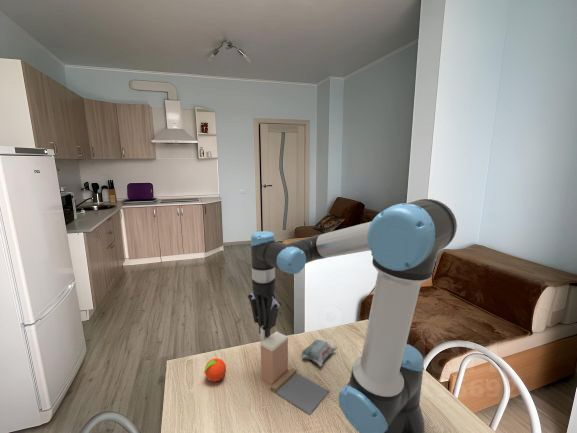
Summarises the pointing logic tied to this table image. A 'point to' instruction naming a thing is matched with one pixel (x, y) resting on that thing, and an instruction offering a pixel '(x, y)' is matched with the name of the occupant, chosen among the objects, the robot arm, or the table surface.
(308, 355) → the packaged food
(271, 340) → the terracotta block
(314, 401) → the mat
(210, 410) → the table surface
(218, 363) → the clementine
